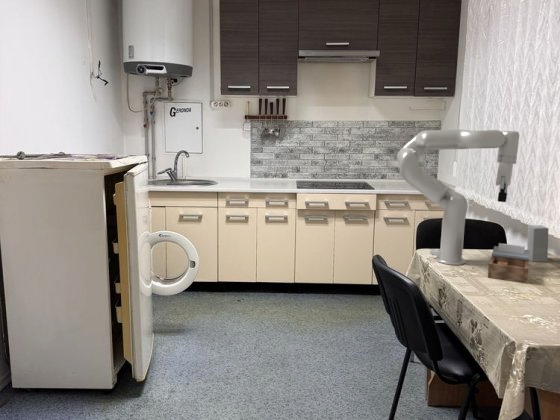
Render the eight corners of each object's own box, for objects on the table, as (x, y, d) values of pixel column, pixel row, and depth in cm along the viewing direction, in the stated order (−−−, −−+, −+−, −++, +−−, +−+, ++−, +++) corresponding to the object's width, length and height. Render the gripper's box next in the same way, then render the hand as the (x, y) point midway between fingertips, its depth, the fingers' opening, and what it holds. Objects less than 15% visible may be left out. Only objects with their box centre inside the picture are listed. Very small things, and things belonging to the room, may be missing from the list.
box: (487, 277, 183) (489, 263, 182) (490, 268, 195) (491, 255, 194) (526, 283, 176) (528, 268, 175) (527, 274, 188) (528, 260, 187)
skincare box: (547, 262, 205) (551, 228, 203) (530, 261, 207) (533, 227, 204) (540, 257, 213) (544, 224, 211) (524, 256, 215) (527, 224, 212)
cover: (491, 255, 193) (492, 246, 192) (494, 248, 205) (495, 239, 204) (528, 260, 186) (529, 250, 185) (529, 252, 198) (530, 243, 197)
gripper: (499, 158, 204) (495, 198, 207) (494, 160, 191) (489, 202, 194) (518, 159, 200) (513, 200, 203) (514, 161, 187) (509, 204, 190)
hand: (501, 201), depth 199 cm, fingers closed
